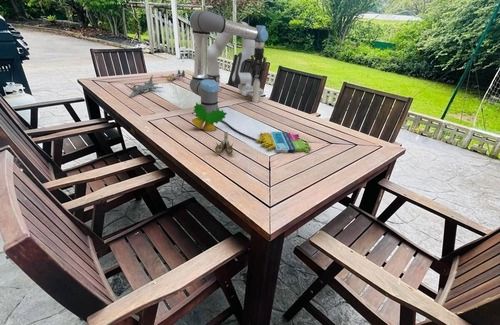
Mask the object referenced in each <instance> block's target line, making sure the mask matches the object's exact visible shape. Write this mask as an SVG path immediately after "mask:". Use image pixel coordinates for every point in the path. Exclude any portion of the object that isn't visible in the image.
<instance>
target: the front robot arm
mask: <svg viewBox="0 0 500 325" xmlns="http://www.w3.org/2000/svg"><path fill="white" fill-rule="evenodd" d="M237 22H238V21H234V20H230V19H226V17H225V16H224V15H220V14H218V13H216V12H212V11H209V10H201V9H200V10H199V9H198V10H195V11H193V12H192V13H191V15H190V16H189V25H190V26H191V28H192V30H191V32H192V33H191V34H192V35H193V36H194V65H193V66H194V70H193V71H194V72H193V74H192V75H191V76H192V77H191V79H190V81H189V88H190V90H191V92H192V93H194V94H195V95H197V96H199V97H200V104H201V106H204V109H206V112H208V113H211V112H212V110H214V111H216V110H217V109H219V111H221V110H220V108H219V102H218V99H219V98H218V97H219V91H218V85H217V83H216V82H215V81H213V80H209V77H208V75H207V47H208V46H209V45H208V44H209V42H208V39H209V37H210V36H211V33H217V34H218V33H223V32H225V33H229V34H233V36H236V35H237V36H236V37H238V36H241V37H242V38H243V39H250V40H255V48H254V55H251V58H250V69H251V70H252V72H251V74H252V77H253V79H254V77H255V75H257V74H256V73H257V69H256V66H257V64H258V63H259V69H260V70H259V72H258V75H259V80H262V77H263V74H264V71H266V65H267V64H266V63H267V57H266V56H264V53H265V42H266V41H267V40H268V38H269V32H268V31H267V30H266V29H267V28H266V26H265V25H260V24H259V25H258V24H257V25H256V26H251V25H249V26H247V25H244V24H241V23H237ZM242 38H241V39H242ZM243 39H242V40H243ZM208 113H207V115H208ZM222 123H224V124H225V125H226V126H227V127H228V128H230V129H231V130H232V131H234V132H236V133H238V134H240V135H242V136H243V137H246V138H248V139H251V140H253V141H255V142H256V141H257V139H258V138H255V137H252V136H249V135H248V134H245V133H243V132H241V131H239V130H238V129H236V128H234V127H233V126H231V125H230V124H229V123H228V122H226V121H225V120H223V119H222ZM262 143H263V142H260V143H259V144H262Z"/></svg>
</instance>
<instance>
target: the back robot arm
mask: <svg viewBox="0 0 500 325" xmlns="http://www.w3.org/2000/svg"><path fill="white" fill-rule="evenodd" d="M236 22H237V23H241V24H244V25H247V26H250V24H249V23H247V22H245V21H236ZM233 37H234V35H233V34H229V33H225V32H223V33H217V34H216V36H215V38H214V41H213V43H212V44H211V45H207V75H208V77H209V80H213V81H215V82H216V83H217V85H218V92H220V91H222V87H221V80H220V79H221V75H220V65H219V62H218V61H219V60H218V58H220V57H221V56H222V55H223V52H224V51H225V48H226V47H227V45H228V43H229V42H230V40H231V39H232V38H233ZM235 37H238V38H240V39H242V48H241V50H240V52H239V53H238V54H237V57H236V61H235V65H234V69H233V73H232V76H231V81H232V83H233V84H234V85H238V86H237V88H238V90H239V91H238V92H239V93H240V94H241V96H244V97H251V96H252V97H253V95H254V94H253V83H254V78H253V74H252V73H251V72H241V68H242V64H243V63H244V62H245V61H246V60H248V59H251V55H254V48H255V40H250V39H243V38H242V37H241V36H237V35H235ZM264 92H265V90H264V89H263V88H261V87H260V90H259V96H261V95H264Z"/></svg>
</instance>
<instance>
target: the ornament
mask: <svg viewBox="0 0 500 325" xmlns="http://www.w3.org/2000/svg"><path fill="white" fill-rule="evenodd" d="M219 110H220V108H219V109H217V110H216V111H214V110H212V112H211V113H208V112H206V109H204V106H201V103H198V102H195V105H194V106H193V112H194V113H195V118H192V119H191V122H192V123H193V125H195V127H197V128H198V129H202V130H203V131H206V132H212V131H213V132H214V131H215V130H216V126H215V124H218V123H219V122H222V120H223V119H226V115H227V114H228V113H227V112H224V110H223V109H221V110H220V111H219ZM207 113H208V115H207ZM214 123H215V124H214ZM222 123H223V122H222Z"/></svg>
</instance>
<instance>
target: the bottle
mask: <svg viewBox="0 0 500 325" xmlns="http://www.w3.org/2000/svg"><path fill="white" fill-rule="evenodd" d="M252 86H253V94H254V95H253V96H252V98H251V102H252V103H259V102H260V95H259V90H260V88H261V82H260V79H254V80H253V82H252Z"/></svg>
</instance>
